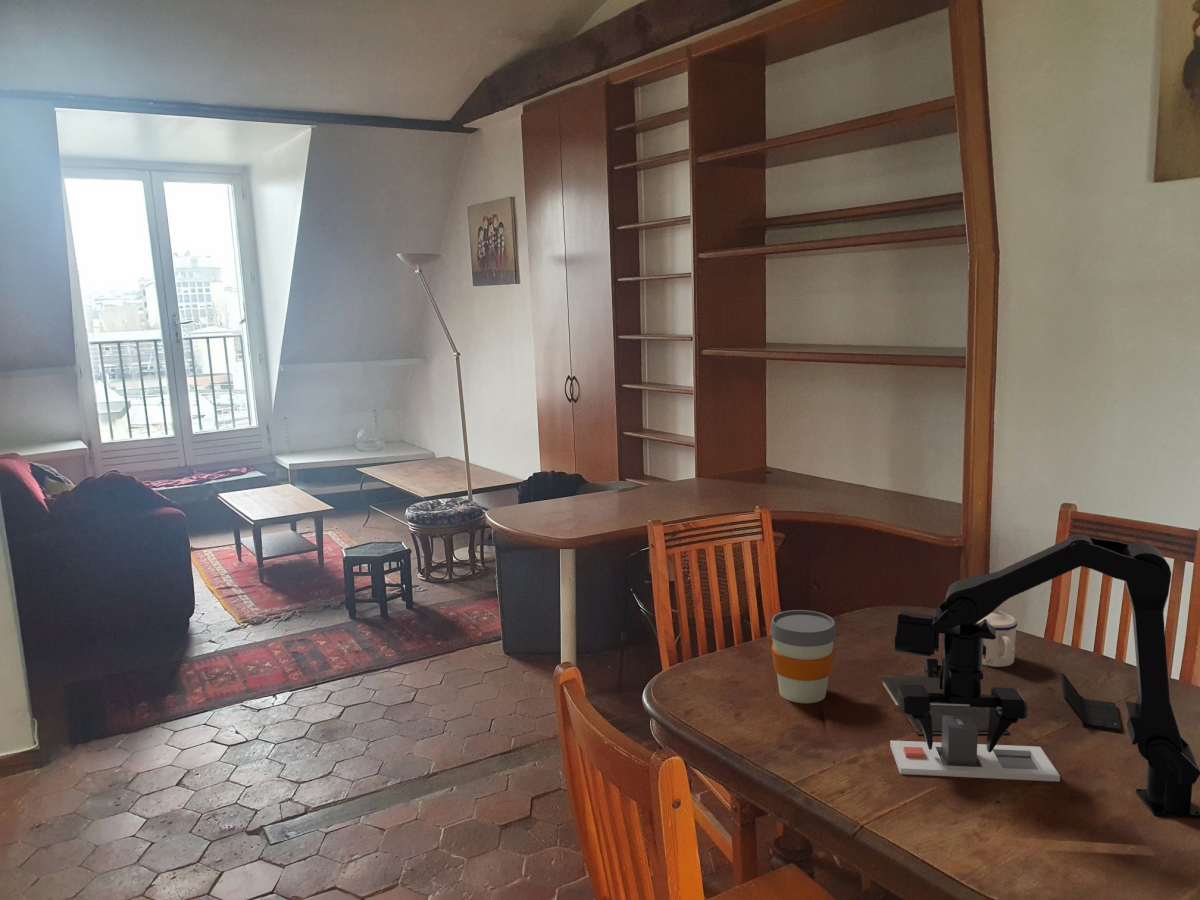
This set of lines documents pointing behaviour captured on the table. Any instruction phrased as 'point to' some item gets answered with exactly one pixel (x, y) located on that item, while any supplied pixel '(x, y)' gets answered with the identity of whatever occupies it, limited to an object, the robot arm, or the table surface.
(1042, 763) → the power strip
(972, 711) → the hardcover book
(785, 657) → the reusable coffee cup
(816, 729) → the table surface
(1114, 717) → the handheld gaming console
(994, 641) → the teacup with lid
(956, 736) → the block
